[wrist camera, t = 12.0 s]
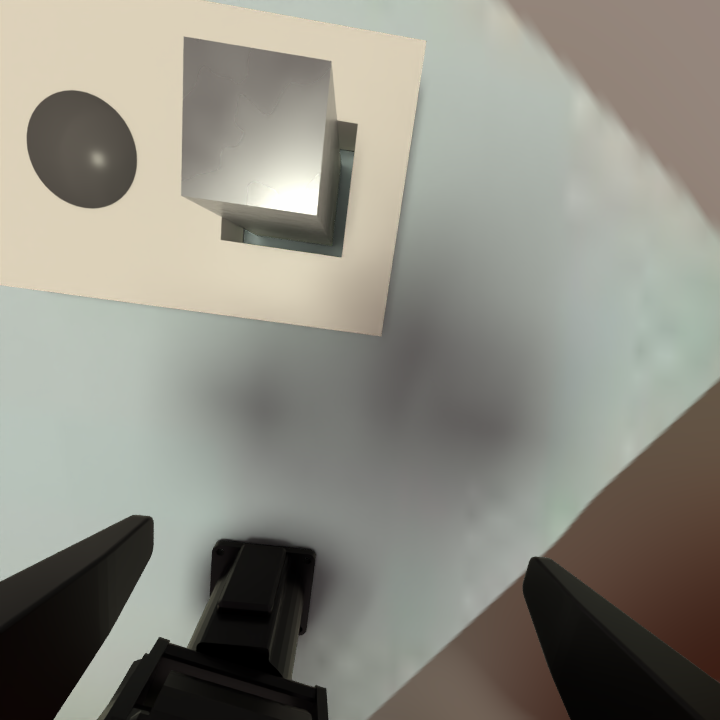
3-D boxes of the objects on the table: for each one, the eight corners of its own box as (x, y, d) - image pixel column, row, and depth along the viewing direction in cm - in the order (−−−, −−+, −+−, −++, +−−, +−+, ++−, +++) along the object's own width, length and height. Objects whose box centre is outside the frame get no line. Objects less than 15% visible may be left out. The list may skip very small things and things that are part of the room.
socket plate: (376, 328, 19) (381, 336, 16) (44, 283, 18) (-18, 283, 15) (413, 84, 16) (426, 39, 13) (28, 18, 15) (-51, -47, 12)
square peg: (332, 246, 18) (316, 215, 10) (257, 235, 18) (181, 195, 10) (341, 164, 17) (331, 60, 9) (262, 152, 17) (183, 36, 9)
